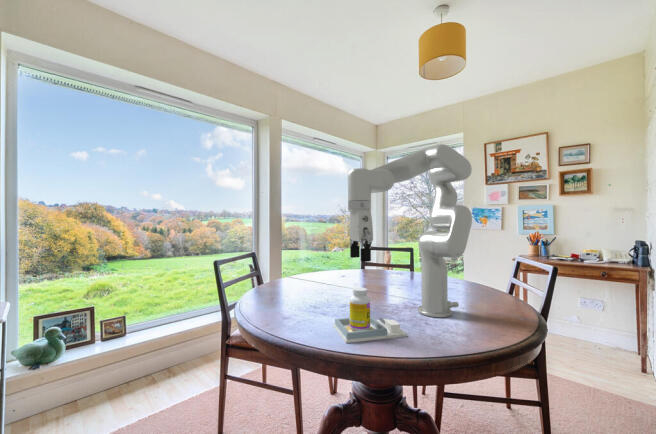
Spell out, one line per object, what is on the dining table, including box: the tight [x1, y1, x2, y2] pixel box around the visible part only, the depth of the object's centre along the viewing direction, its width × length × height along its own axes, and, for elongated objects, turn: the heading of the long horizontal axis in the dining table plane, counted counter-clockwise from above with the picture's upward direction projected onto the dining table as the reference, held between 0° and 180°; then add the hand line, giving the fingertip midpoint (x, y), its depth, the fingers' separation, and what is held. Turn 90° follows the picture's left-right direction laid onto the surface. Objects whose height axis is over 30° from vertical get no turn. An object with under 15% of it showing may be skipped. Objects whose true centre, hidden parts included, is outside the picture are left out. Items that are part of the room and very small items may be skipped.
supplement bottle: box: [349, 286, 371, 331], centre depth 94 cm, size 7×7×13 cm
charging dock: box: [332, 315, 408, 344], centre depth 95 cm, size 20×14×3 cm
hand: (360, 259), depth 95 cm, fingers open, 9 cm apart
